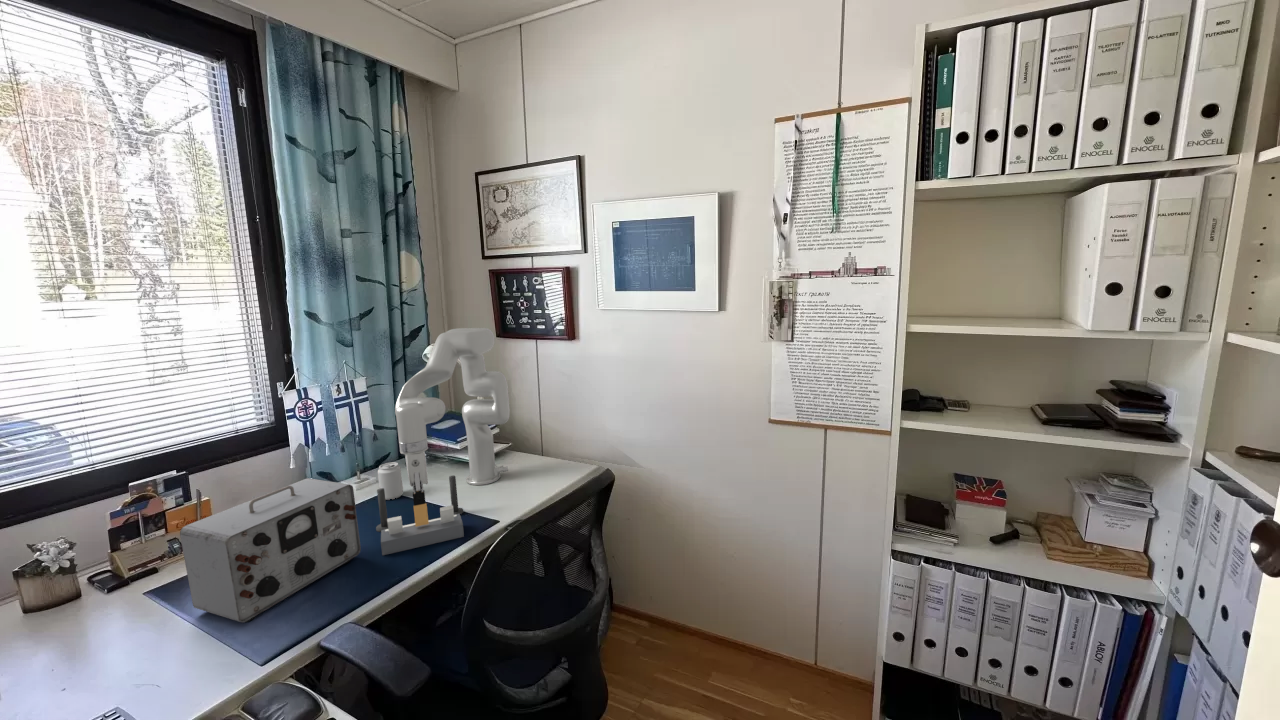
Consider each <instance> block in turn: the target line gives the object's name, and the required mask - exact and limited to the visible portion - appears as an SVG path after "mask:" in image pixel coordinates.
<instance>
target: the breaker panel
mask: <svg viewBox="0 0 1280 720" xmlns="http://www.w3.org/2000/svg"><path fill="white" fill-rule="evenodd" d="M428 522H429V524H426V525H421V526H417V527H416V526H415V522H414V523H409V524H404V525H403V524H402V526H403V532H400V533H395V534H391V535H389V529H385V530H381V532H380V548H381V555H382V556H385V555H386V556H387V555H389V554H395V553H399V552H404V551H408V550H412V549H415V548H417V549H418V548H420V547H425V546H426V547H427V546H429V545H430V546H431V545H434V544H437V543H442V542H446V541H451V540H456V539H460V538H464V537H465V536H464V535H465V533H464V523H463V520H462V516H461V515H460V514H455V515H454V521H451V522H446V523H441V517H437V518H432V519H428Z"/></svg>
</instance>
